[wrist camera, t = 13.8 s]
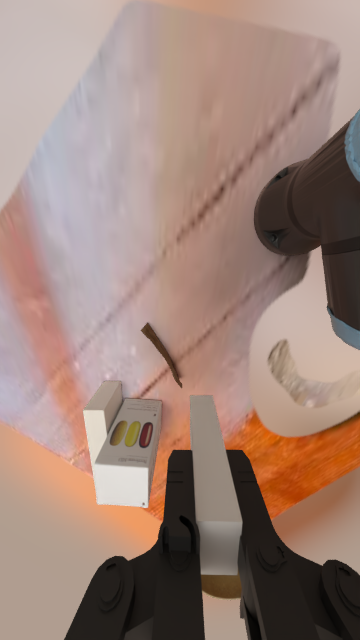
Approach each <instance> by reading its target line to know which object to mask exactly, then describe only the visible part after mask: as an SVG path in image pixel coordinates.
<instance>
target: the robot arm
mask: <svg viewBox="0 0 360 640" xmlns="http://www.w3.org/2000/svg"><path fill="white" fill-rule="evenodd" d="M254 224H255V229H256V232H257V235H258V237H259V239H260V240H261V242H262V243H263V244H264V245H265V246H266V247H267V248H268V249H269V250H271V251H273V252H275V253H277V254H280V255H297V254H303V253H306V252H309V251H312V250H314V249H316V248H317V247H319V246H320V245H321V248H322V259H323V266H324V274H325V282H326V291H327V300H328V305H327V310H328V313H329V314H330V316H331V322H332V327H333V330H334V332H335V334H336V335H337V336H338V337H339V338H341V339H342V340H343V341H344V342H345V343H346V344H348V345H350V346H352V347H354V348H356V349H358V350H360V110H359V111H358V112H357V113H356V114H355V116H354V117H353V118H352V119H351V120H350V121H349V122H348V123H346V124H345V125H344V126H343V127H342V128H341V129H340V130H339V131H338V132H337V133H336V134H335V135H334V136H333V137H331V138H330V139H329V140H328V141H327V142H326V143H325V144H324V145H323V146H322V147H321V148H320V149H319V150H318V151H316V152H315V153H314V154H313V155H312V156H311V157H310V158H309V159H306V160H303V161H300V162H297V163H295V164H292V165H290V166H288V167H286V168H284V169H283V170H281V171H280V172H279V173H278V174H276V175H275V176H274V177H273V178H272V179H271V181H270V182H269V183H268V184H267V185H266V186H265V187H264V189H263V190H262V192H261V194H260V196H259V198H258V200H257V203H256V207H255V213H254ZM190 440H191V450H173V451H172V453H171V455H170V457H169V459H168V470H167V483H166V495H165V507H164V519H163V522H162V524H161V526H160V530H159V534H158V540H157V542H156V544H155V545H154V546H153V547H152V548H151V549H150V550H149V551H147V552H146V553H144V554H142V555H140V556H138V557H136V558H134V559H132V560H129V561H128V560H126V559H125V558H124V557H123V556H114V557H112V558H110V559H108V560H106V561H105V562H104V563H103V564H102V565H101V566H100V567H99V568H98V570H97V571H96V573H95V575H94V576H93V578H92V580H91V582H90V584H89V586H88V589H87V591H86V593H85V595H84V597H83V599H82V602H81V604H80V606H79V608H78V610H77V613H76V615H75V617H74V619H73V622H72V624H71V626H70V628H69V630H68V633H67V635H66V637H65V639H64V640H205V633H204V617H203V599H202V582H201V574H202V575H237V573H238V570H239V575H240V581H241V586H242V592H241V602H240V618H244V619H245V625H246V630H247V636H248V640H360V575H359V574H358V573H357V572H355V571H354V570H353V569H352V568H351V567H349V566H348V565H347V564H344V563H342V562H340V561H338V560H328V561H326V562H325V564H323V566H322V565H319V564H317V563H315V562H313V561H310V560H308V559H306V558H304V557H301V556H300V555H298V554H296V553H294V552H293V551H292V550H290V549H289V548H288V547H287V546H286V545H285V544H284V543H283V542H282V540H281V539H280V538H279V536H278V535H277V533H276V532H275V529H274V527H273V525H272V522H271V519H270V517H269V514H268V511H267V508H266V505H265V502H264V500H263V497H262V494H261V491H260V488H259V485H258V484H257V480H256V477H255V474H254V471H253V468H252V466H251V463H250V460H249V459H248V457H247V456H246V455H245V453H244V452H243V451H242V450H225V446H224V441H223V437H222V433H221V429H220V424H219V420H218V416H217V412H216V408H215V403H214V399H213V396H212V395H190Z"/></svg>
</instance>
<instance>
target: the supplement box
mask: <svg viewBox="0 0 360 640" xmlns="http://www.w3.org/2000/svg"><path fill="white" fill-rule="evenodd" d="M161 417H162V401H159V400H144V399H129V398H125V400H124V402H123V404H122V407H121V409H120V411H119V413H118V415H117V417H116V419H115V421H114V423H113V425H112V427H111V429H110V431H109V434H108V436H107V438H106V440H105V442H104V444H103V446H102V448H101V450H100V452H99V454H98V456H97V459H96V461H95V463H94V473H95V485H96V497H97V504H107V505H109V504H110V505H124V506H125V505H126V506H136V507H143V508H148V505H149V499H150V492H151V486H152V480H153V474H154V468H155V462H156V456H157V450H158V443H159V437H160V431H161Z"/></svg>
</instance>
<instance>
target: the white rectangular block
mask: <svg viewBox="0 0 360 640" xmlns="http://www.w3.org/2000/svg"><path fill="white" fill-rule="evenodd" d="M122 404H123V399H122V388H121V381H104V382H103V384H102V385H101V386H100V388H99V389H98V390H97V392H96V393H95V395H94V396H93V397H92V399H91V400H90V401H89V403H88V404H87V405H86V407H85V408H84V410H83V414H84V420H85V426H86V433H87V439H88V445H89V452H90V458H91V464H92V471H93V477H94V483H95V473H94V463H95V461H96V459H97V456H98V454H99V452H100V450H101V448H102V446H103V444H104V442H105V440H106V438H107V436H108V434H109V431H110V429H111V427H112V425H113V423H114V421H115V419H116V417H117V415H118V413H119V411H120V409H121V407H122ZM95 489H96V485H95Z"/></svg>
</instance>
